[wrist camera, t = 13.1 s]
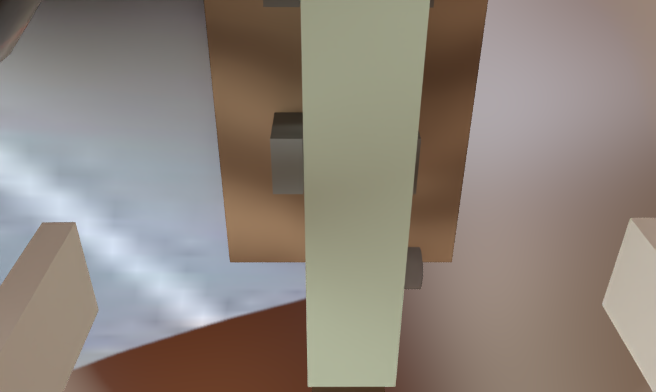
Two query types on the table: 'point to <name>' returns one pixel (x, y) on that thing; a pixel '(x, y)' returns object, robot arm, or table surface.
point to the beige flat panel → (359, 182)
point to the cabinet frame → (287, 127)
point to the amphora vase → (14, 22)
